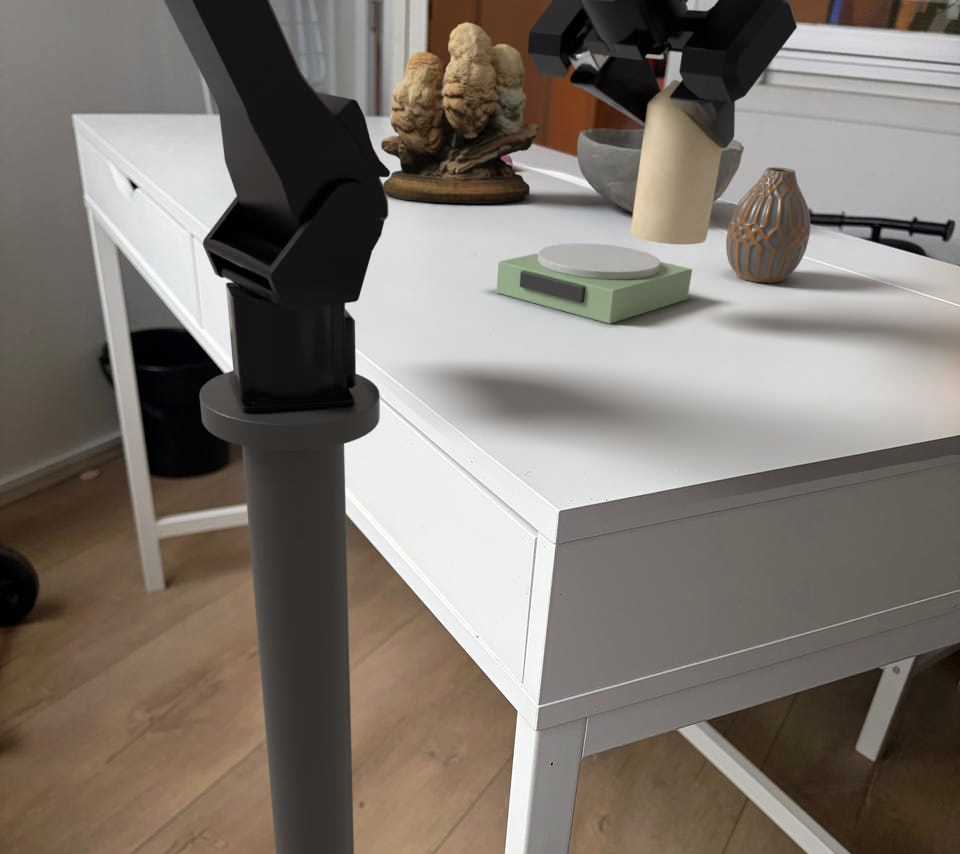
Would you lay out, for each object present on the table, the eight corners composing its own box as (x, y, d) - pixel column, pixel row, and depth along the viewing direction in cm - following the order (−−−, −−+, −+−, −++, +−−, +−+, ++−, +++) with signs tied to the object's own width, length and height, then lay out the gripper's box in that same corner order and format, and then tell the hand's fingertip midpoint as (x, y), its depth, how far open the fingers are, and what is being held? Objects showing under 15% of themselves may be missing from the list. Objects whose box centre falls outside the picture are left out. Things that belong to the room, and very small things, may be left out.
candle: (667, 247, 70) (692, 84, 64) (614, 232, 73) (634, 76, 68) (722, 242, 73) (750, 85, 67) (668, 227, 76) (691, 78, 71)
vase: (815, 283, 88) (840, 174, 83) (761, 290, 85) (784, 178, 80) (756, 265, 93) (777, 161, 88) (703, 272, 89) (721, 164, 84)
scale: (607, 324, 74) (612, 282, 72) (493, 293, 79) (496, 253, 78) (687, 299, 81) (693, 261, 79) (578, 272, 87) (582, 236, 85)
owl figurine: (519, 186, 122) (530, 23, 113) (549, 205, 113) (564, 28, 104) (374, 185, 118) (373, 15, 109) (392, 204, 109) (393, 19, 99)
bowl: (545, 212, 109) (552, 131, 105) (605, 192, 122) (613, 119, 118) (704, 236, 103) (718, 150, 98) (749, 212, 116) (763, 135, 112)
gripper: (817, -193, 52) (881, 56, 64) (578, -170, 64) (669, 36, 76) (688, -23, 52) (776, 195, 64) (474, -32, 64) (581, 153, 76)
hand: (696, 137), depth 70 cm, fingers closed on candle, 5 cm apart
